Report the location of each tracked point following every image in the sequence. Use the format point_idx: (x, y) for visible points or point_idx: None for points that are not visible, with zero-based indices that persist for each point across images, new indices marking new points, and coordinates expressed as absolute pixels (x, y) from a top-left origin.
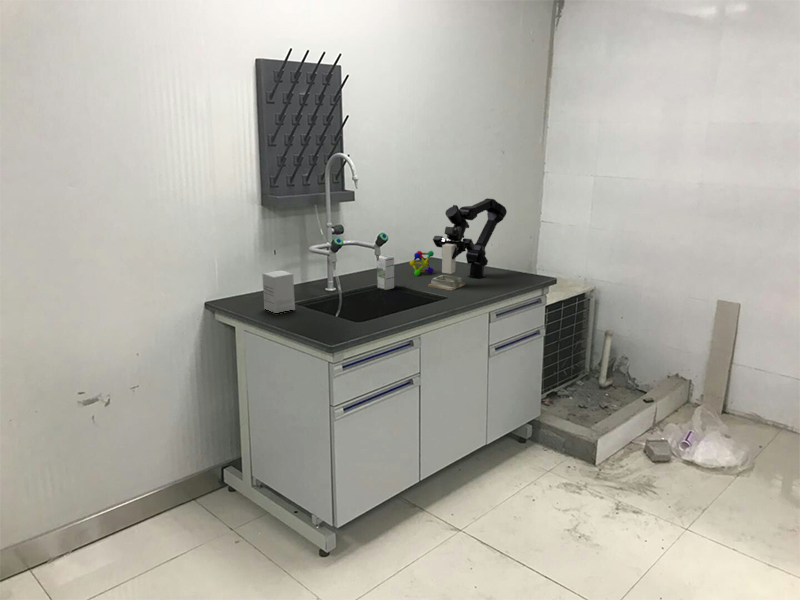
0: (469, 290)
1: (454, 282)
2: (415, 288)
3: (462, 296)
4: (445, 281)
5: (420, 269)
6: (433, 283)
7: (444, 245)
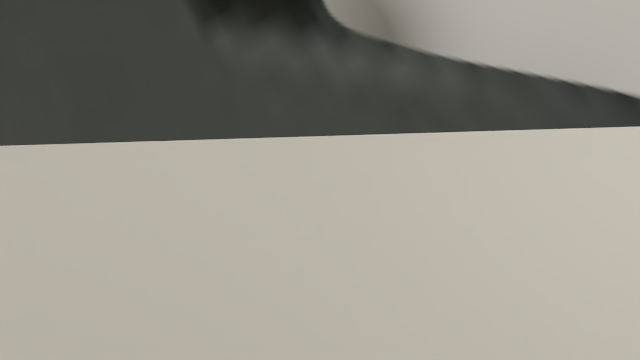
0: None
1: None
2: (581, 124)
3: (104, 108)
4: None
5: None
6: None
7: (517, 137)
